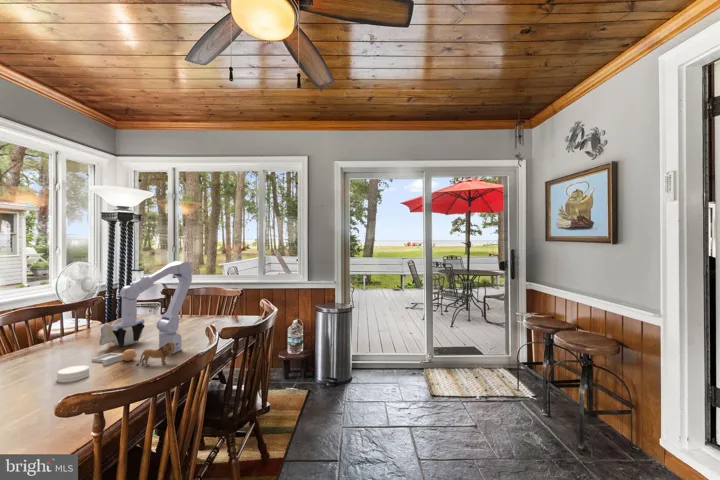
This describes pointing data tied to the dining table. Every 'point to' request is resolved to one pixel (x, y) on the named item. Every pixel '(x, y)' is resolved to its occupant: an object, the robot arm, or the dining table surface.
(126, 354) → the ball
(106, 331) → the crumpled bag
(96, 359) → the tray
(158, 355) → the lion figurine
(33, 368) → the dining table surface
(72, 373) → the coaster
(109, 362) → the white picture ledge
